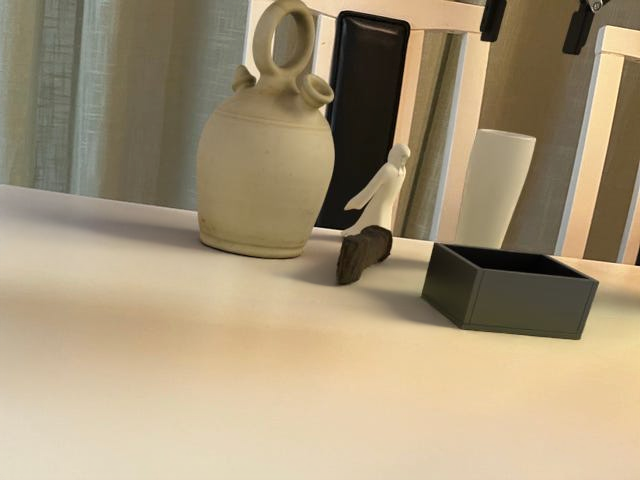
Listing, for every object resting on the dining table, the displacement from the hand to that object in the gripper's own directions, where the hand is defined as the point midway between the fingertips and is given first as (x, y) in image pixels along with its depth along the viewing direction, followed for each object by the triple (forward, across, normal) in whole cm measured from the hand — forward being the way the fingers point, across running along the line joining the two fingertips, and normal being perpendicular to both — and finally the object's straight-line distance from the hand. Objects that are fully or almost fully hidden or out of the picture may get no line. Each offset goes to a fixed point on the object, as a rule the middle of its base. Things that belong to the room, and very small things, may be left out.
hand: (529, 48), depth 109 cm
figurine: (+24, -10, +12) cm, 28 cm away
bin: (+23, -6, -23) cm, 33 cm away
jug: (+24, -27, +1) cm, 36 cm away
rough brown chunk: (+24, -16, -8) cm, 30 cm away
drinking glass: (+24, 0, 0) cm, 24 cm away
